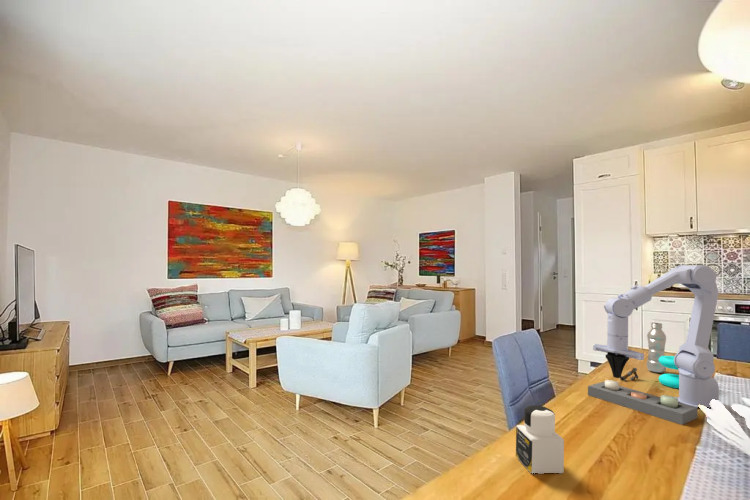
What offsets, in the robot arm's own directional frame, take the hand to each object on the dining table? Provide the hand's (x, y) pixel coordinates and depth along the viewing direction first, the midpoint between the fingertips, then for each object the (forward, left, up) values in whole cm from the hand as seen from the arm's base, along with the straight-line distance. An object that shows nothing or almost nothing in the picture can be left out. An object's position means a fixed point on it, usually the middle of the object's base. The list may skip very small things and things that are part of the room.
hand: (617, 377), depth 124 cm
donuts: (-32, -15, -7) cm, 36 cm away
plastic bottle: (-38, -32, -7) cm, 50 cm away
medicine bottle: (+44, +41, -7) cm, 61 cm away
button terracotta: (-3, +5, -6) cm, 9 cm away
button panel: (-3, +5, -7) cm, 9 cm away
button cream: (+1, -1, -5) cm, 5 cm away
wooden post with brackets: (-19, -21, -7) cm, 29 cm away
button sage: (-7, +12, -5) cm, 15 cm away
